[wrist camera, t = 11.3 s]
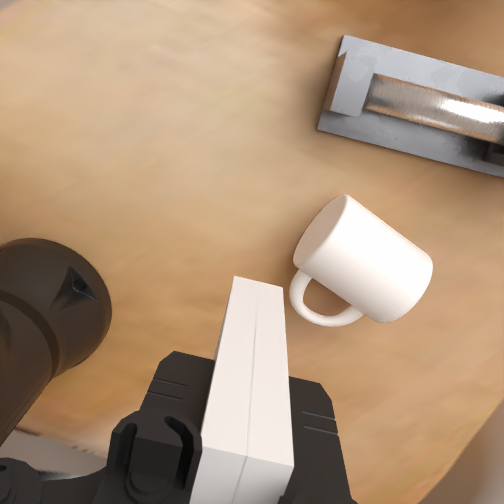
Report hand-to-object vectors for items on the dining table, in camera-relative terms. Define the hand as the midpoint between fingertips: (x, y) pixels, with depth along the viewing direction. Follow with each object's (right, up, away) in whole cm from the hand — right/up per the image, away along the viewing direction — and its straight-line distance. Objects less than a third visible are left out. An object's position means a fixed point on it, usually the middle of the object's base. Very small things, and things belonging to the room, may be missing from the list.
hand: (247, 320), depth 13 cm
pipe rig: (+19, +14, +25) cm, 35 cm away
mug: (+9, +1, +31) cm, 32 cm away
